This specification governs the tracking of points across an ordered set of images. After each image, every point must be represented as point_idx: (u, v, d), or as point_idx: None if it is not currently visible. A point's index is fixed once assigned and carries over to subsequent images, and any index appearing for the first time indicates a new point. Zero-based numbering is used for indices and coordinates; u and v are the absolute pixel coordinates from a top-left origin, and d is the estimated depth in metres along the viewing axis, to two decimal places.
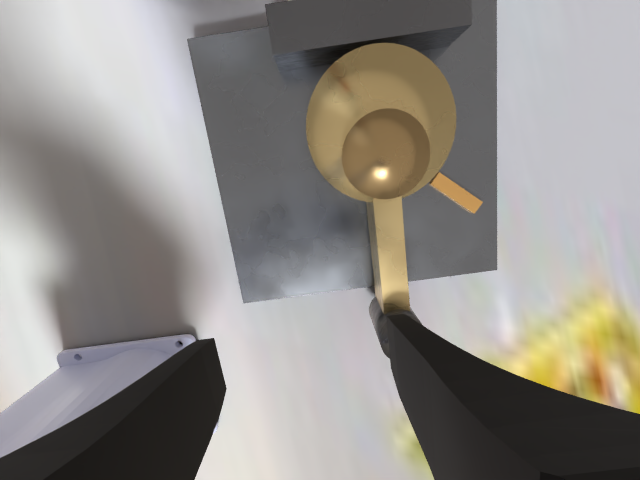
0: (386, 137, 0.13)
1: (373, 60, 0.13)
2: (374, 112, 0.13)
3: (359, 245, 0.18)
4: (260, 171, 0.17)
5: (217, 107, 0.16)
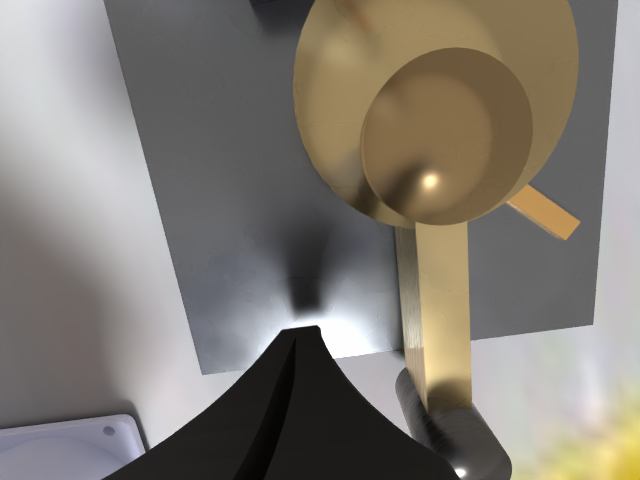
0: (449, 107, 0.07)
1: None
2: (428, 56, 0.07)
3: (381, 289, 0.11)
4: (222, 172, 0.10)
5: (147, 65, 0.10)
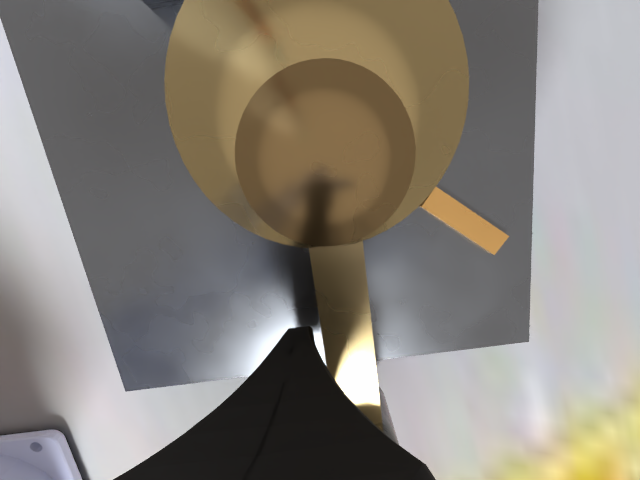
0: (323, 121, 0.06)
1: None
2: (295, 67, 0.06)
3: (306, 304, 0.11)
4: (133, 184, 0.10)
5: (46, 73, 0.09)
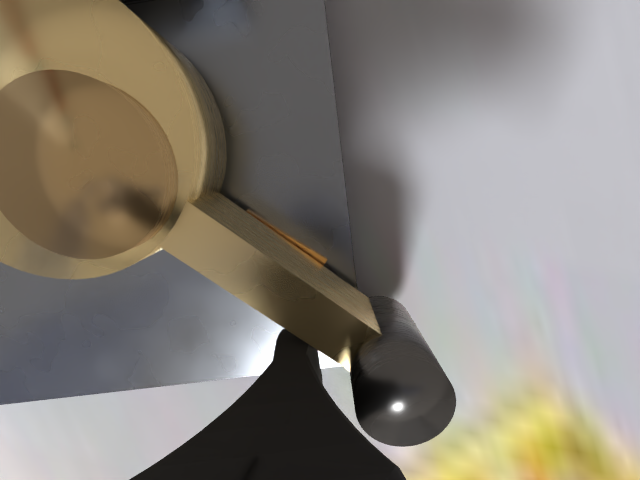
0: (41, 146, 0.06)
1: None
2: None
3: (137, 325, 0.11)
4: None
5: None
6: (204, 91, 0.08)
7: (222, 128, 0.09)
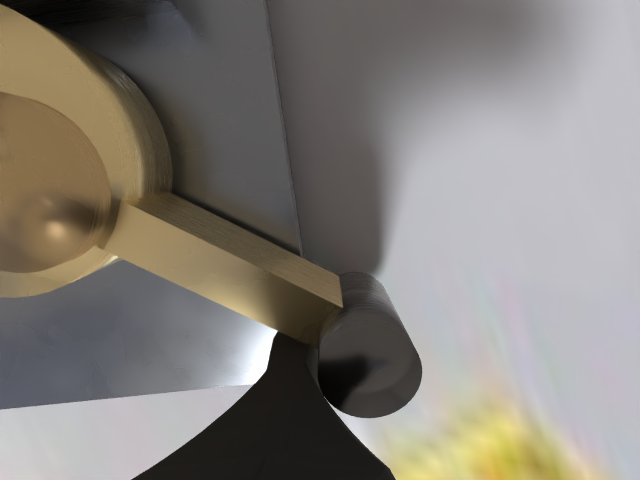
0: None
1: None
2: None
3: (92, 337, 0.11)
4: None
5: None
6: (131, 92, 0.08)
7: (160, 127, 0.09)
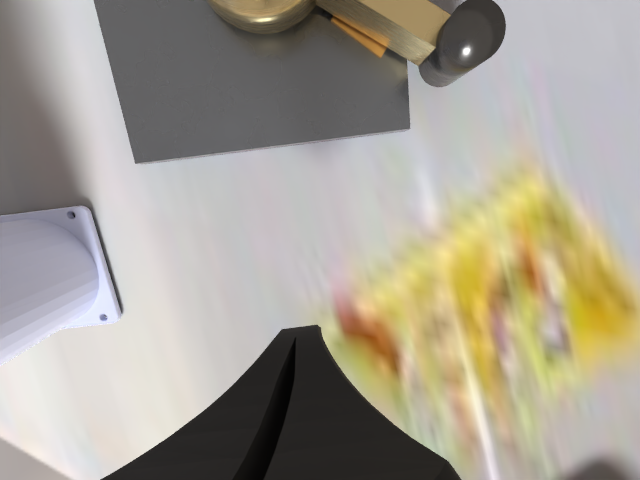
0: None
1: None
2: None
3: (258, 96, 0.16)
4: (143, 2, 0.15)
5: None
6: None
7: None
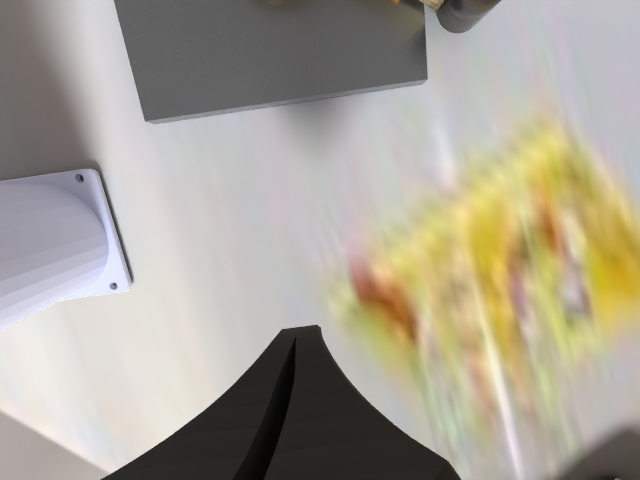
0: None
1: None
2: None
3: (270, 47, 0.16)
4: None
5: None
6: None
7: None
